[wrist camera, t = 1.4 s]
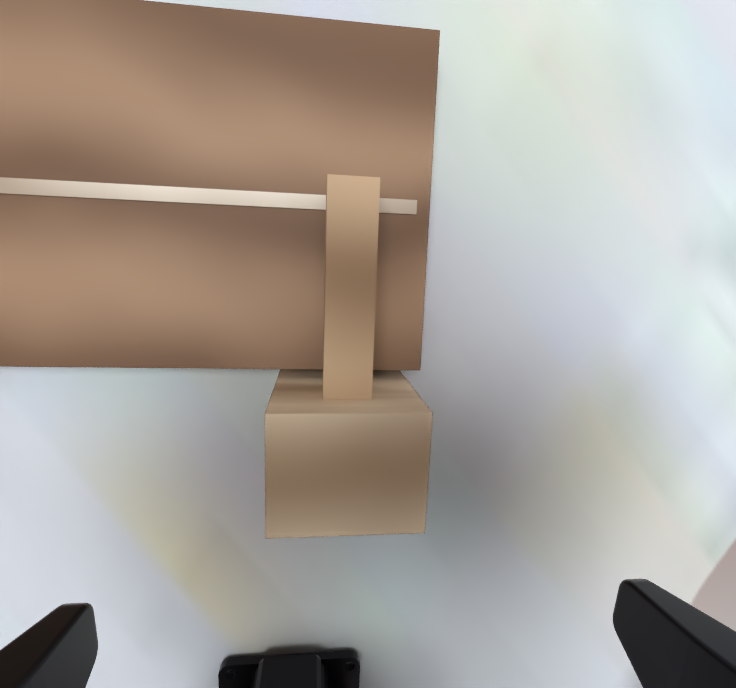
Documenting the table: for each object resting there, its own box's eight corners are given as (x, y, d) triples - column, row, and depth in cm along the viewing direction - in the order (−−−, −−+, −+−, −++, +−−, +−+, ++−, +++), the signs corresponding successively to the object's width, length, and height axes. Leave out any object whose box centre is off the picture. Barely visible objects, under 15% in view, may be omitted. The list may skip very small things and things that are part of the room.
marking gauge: (393, 454, 20) (424, 533, 14) (281, 455, 19) (265, 538, 14) (405, 201, 18) (448, 171, 12) (281, 194, 18) (263, 159, 12)
